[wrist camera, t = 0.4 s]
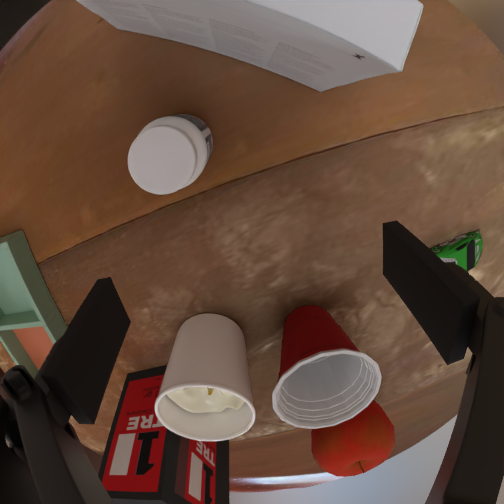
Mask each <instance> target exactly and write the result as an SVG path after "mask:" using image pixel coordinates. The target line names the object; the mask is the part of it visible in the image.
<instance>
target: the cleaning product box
mask: <svg viewBox="0 0 504 504" xmlns="http://www.w3.org/2000/svg"><path fill="white" fill-rule="evenodd" d="M166 367H167V365H166V366H161V367H157V368H152V369H148V370H143V371H139V372H134V373H129V374H128V375H127V378H126V381H125V384H124V387H123V390H122V393H121V397H120V400H119V403H118V406H117V410H116V413H115V416H114V420H113V423H112V426H111V430H110V433H109V437H108V441H107V444H106V448H105V451H104V455H103V459H102V463H101V467H100V471H99V474H98V477H99V479H100V481H101V482H102V484H103V486H104V488H105V489H106V491H107V493H108V494H109V496H110V498H111V499H112V501H113V502H114V504H229V440H224V441H198V440H193V439H189V438H185V437H183V436H180V435H178V434H176V433H174V432H172V431H170V430H169V429H167V428H166V427H165V426H164V425H163V424H162V423H161V422H160V421H159V420H158V418H157V416H156V414H155V402H156V399H157V397H158V394H159V391H160V387H161V384H162V381H163V377H164V374H165V371H166Z"/></svg>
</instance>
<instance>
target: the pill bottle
mask: <svg viewBox="0 0 504 504" xmlns="http://www.w3.org/2000/svg"><path fill="white" fill-rule="evenodd" d="M212 150H213V137H212V133H211V131H210V129H209V127H208V126H207V125H206V123H205V122H204V121H202V120H201V119H200V118H198V117H196V116H193V115H190V114H176V115H171V116H166V117H161V118H158V119H156V120H154V121H152V122H150V123H149V124H148V125H146V126H145V127H144V128H143V129H142V131H141V132H140V133H139V135H138V136H137V137H136V139H135V140H134V141H133V143H132V145H131V147H130V149H129V153H128V168H129V172H130V174H131V176H132V178H133V180H134V181H135V182H136V183H137V185H138V186H140V187H141V188H142V189H144V190H145V191H147V192H150V193H153V194H159V195H163V194H170V193H173V192H176V191H177V190H179V189H182V188H184V187H186V186H188V185H190V184H191V183H193V182H194V181H195V180H196V179H197V178H198V177H199V175H200V174H201V173H202V171H203V170H204V168H205V165H206V164H207V162H208V160H209V158H210V156H211V153H212Z"/></svg>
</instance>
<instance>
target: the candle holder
mask: <svg viewBox="0 0 504 504" xmlns="http://www.w3.org/2000/svg"><path fill="white" fill-rule="evenodd" d="M155 414H156V416H157V418H158V420H159V421H160V422H161V423H162V424H163V425H164V426H165V427H166V428H167V429H169V430H170V431H172V432H174V433H176V434H178V435H180V436H183V437H185V438H189V439H193V440H198V441H224V440H229V439H232V438H235V437H238V436H240V435H242V434H244V433H245V432H246V431H248V430H249V429H250V428H251V427H252V425H253V423H254V421H255V417H256V413H255V408H254V404H253V397H252V389H251V382H250V374H249V367H248V359H247V351H246V344H245V339H244V335H243V332H242V330H241V329H240V327H239V326H238V325H237V324H236V323H235V322H234V321H232V320H231V319H229V318H227V317H225V316H222V315H219V314H212V313H205V314H199V315H195V316H193V317H191V318H189V319H187V320H186V321H185V322H184V323H183V324H182V325H181V327H180V328H179V330H178V333H177V336H176V339H175V342H174V345H173V348H172V351H171V354H170V358H169V361H168V364H167V367H166V371H165V374H164V377H163V381H162V384H161V387H160V391H159V394H158V397H157V399H156V402H155Z"/></svg>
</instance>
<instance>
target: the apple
mask: <svg viewBox="0 0 504 504" xmlns="http://www.w3.org/2000/svg"><path fill="white" fill-rule="evenodd" d="M311 435H312V454H313V457H314V459H315V460H316V462H317V463H318V465H319V466H320V468H321V469H323V470H325V471H326V472H328V473H330V474H333V475H335V476H344V477H345V476H355V475H358V474H361V473H364V472H367V471H368V470H370V469H372V468H374V467H376V466H378V465H380V464H381V463H383V462H384V461H385V460H386V459H387V458H388V457H389V455H390V453H391V452H392V450H393V448H394V444H395V433H394V426H393V424H392V423H391V421H390V420H389V418H388V417H387V415H386V414H385V412H384V411H383V409H382V408H381V407H380V405H379V404H378V403H376V402H375V401H374V400H372V401H371V403H370V404H369V405H368V406H367V407H366V408H365V409H364V410H362V411H361V412H360V413H358V414H357V415H356V416H354V417H353V418H351V419H349V420H346V421H344V422H342V423H339V424H337V425H334V426H329V427H323V428H317V429H312V432H311Z"/></svg>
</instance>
